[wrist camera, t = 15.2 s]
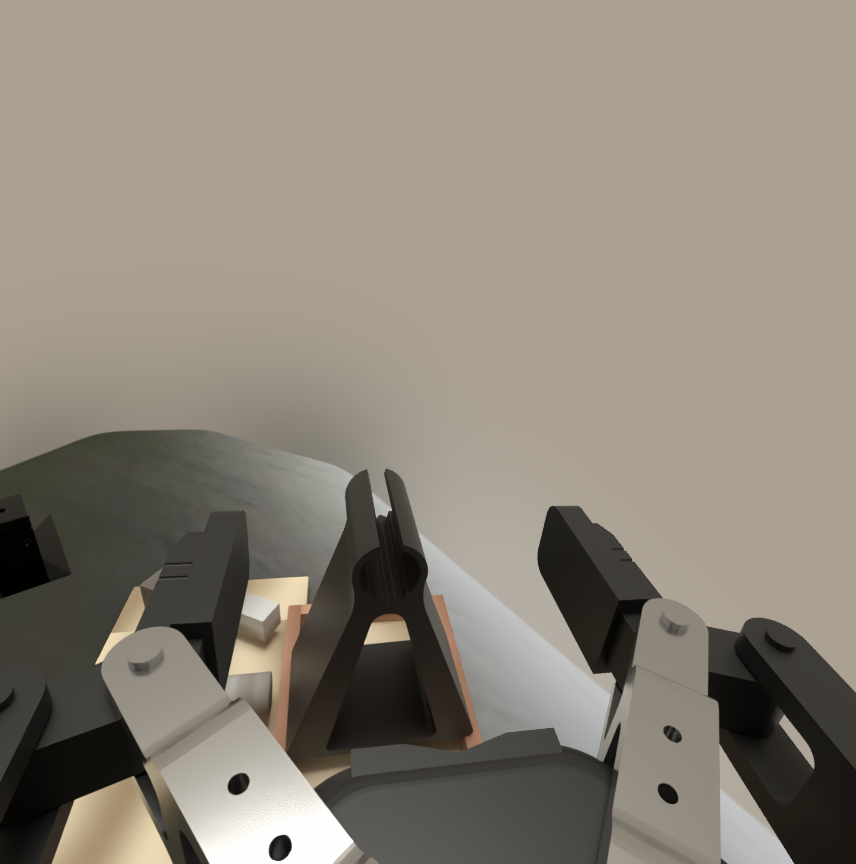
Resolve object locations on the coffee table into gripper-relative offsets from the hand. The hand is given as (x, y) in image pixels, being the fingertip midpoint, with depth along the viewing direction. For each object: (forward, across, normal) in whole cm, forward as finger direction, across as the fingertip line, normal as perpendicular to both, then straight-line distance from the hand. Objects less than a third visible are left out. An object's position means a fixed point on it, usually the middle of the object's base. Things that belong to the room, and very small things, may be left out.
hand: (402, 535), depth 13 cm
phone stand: (+7, -1, +16) cm, 18 cm away
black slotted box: (+23, +25, +20) cm, 40 cm away
